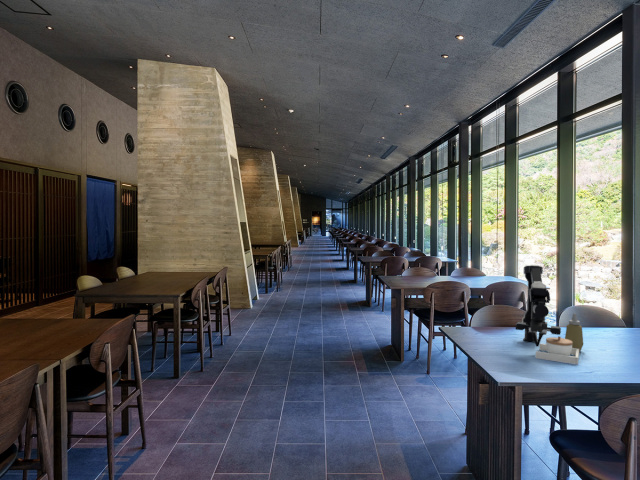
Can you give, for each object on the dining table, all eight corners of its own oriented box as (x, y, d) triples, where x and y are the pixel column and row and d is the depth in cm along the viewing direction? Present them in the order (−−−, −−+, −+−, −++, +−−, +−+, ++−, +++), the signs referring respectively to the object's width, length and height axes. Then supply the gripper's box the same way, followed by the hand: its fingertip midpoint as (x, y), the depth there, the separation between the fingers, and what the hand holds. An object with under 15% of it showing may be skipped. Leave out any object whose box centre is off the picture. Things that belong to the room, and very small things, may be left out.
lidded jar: (571, 361, 192) (572, 340, 191) (544, 357, 197) (545, 337, 197) (572, 356, 201) (573, 335, 201) (546, 352, 206) (547, 332, 206)
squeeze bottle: (581, 348, 213) (582, 312, 213) (585, 353, 206) (586, 315, 205) (562, 347, 216) (563, 311, 215) (566, 351, 208) (567, 314, 208)
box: (539, 349, 211) (539, 343, 211) (579, 355, 202) (579, 348, 202) (535, 358, 197) (535, 351, 197) (577, 364, 188) (577, 357, 188)
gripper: (514, 313, 202) (513, 347, 202) (559, 318, 192) (558, 353, 192) (517, 310, 211) (516, 341, 211) (561, 314, 201) (560, 347, 202)
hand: (537, 346), depth 204 cm, fingers closed
